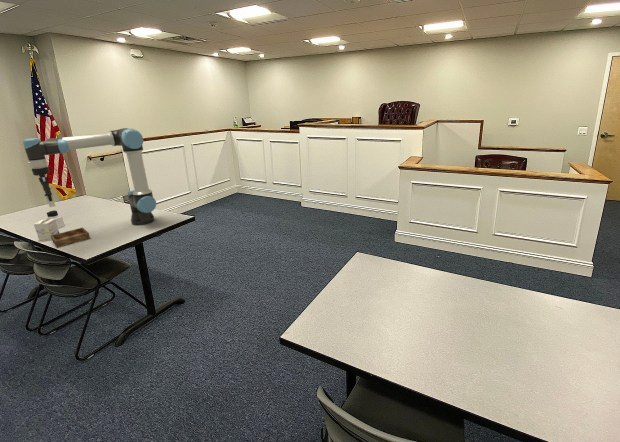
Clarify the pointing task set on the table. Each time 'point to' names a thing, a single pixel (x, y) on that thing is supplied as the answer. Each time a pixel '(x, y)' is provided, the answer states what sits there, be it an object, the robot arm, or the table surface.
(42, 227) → the ink box
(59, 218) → the medicine bottle
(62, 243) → the walnut tray
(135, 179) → the robot arm
